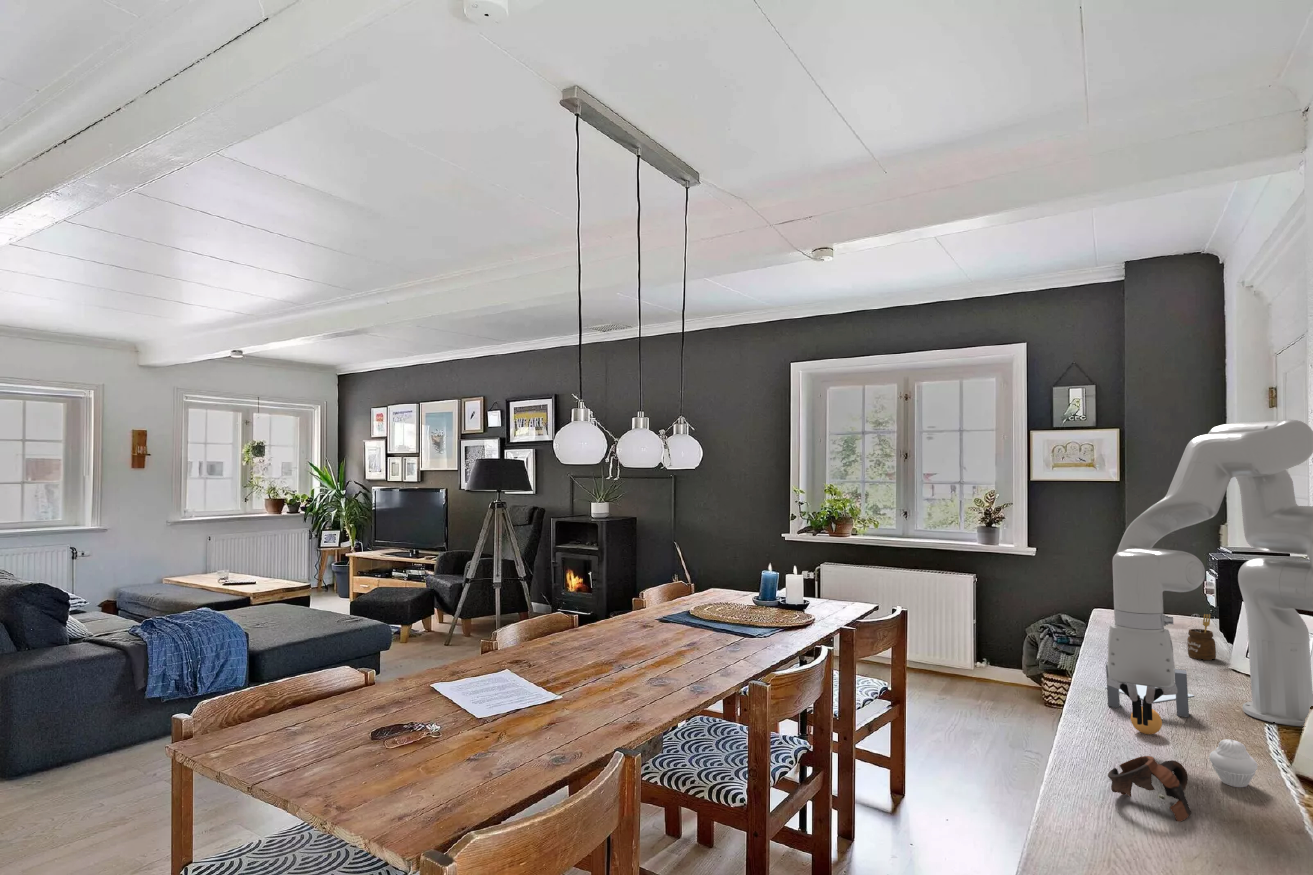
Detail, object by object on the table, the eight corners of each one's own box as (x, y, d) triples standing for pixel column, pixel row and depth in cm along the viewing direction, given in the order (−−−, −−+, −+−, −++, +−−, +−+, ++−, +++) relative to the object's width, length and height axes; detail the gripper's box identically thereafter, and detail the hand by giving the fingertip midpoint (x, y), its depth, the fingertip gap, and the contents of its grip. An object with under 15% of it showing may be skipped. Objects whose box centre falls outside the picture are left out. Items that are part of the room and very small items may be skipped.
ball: (1144, 727, 143) (1143, 701, 143) (1169, 736, 138) (1167, 709, 139) (1125, 731, 142) (1123, 704, 142) (1149, 740, 137) (1147, 712, 137)
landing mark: (1143, 681, 172) (1143, 680, 172) (1194, 696, 161) (1194, 695, 161) (1104, 687, 169) (1104, 686, 169) (1153, 703, 157) (1153, 702, 157)
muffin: (1251, 795, 114) (1248, 749, 114) (1204, 782, 119) (1202, 738, 119) (1264, 784, 117) (1261, 740, 118) (1218, 772, 122) (1215, 729, 123)
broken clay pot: (1174, 833, 104) (1136, 775, 107) (1122, 835, 112) (1088, 781, 115) (1222, 794, 109) (1184, 740, 112) (1169, 799, 117) (1135, 748, 120)
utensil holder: (1206, 655, 194) (1204, 609, 194) (1222, 661, 188) (1219, 614, 188) (1182, 655, 194) (1180, 609, 195) (1197, 661, 188) (1195, 614, 189)
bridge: (1108, 702, 158) (1106, 661, 159) (1188, 713, 151) (1186, 670, 151) (1108, 706, 156) (1105, 665, 156) (1189, 717, 148) (1186, 673, 148)
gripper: (1188, 621, 132) (1193, 725, 131) (1092, 613, 140) (1095, 710, 139) (1190, 628, 126) (1194, 737, 125) (1089, 619, 134) (1093, 721, 133)
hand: (1142, 722), depth 132 cm, fingers closed
